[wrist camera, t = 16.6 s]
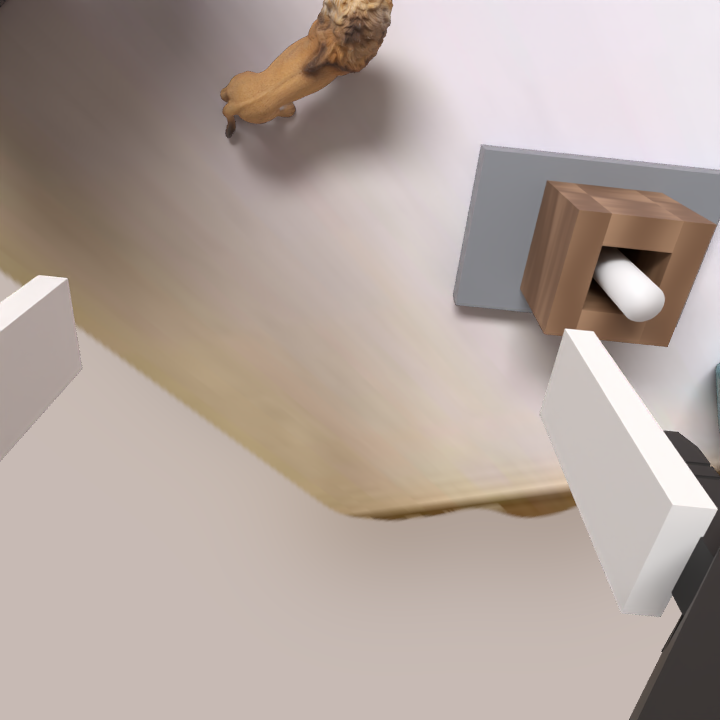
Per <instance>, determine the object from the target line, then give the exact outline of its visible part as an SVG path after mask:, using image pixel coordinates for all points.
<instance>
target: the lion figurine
mask: <svg viewBox="0 0 720 720" xmlns="http://www.w3.org/2000/svg"><path fill="white" fill-rule="evenodd" d="M392 7H393V4H392V0H324V1H323V8H322V10H321V12H320V13H319V15H318V19H317V20H316V21H315V22H314V23H313V24H312V26H311V28H310V30H309V34H308V36H306V37H304V38H302V39H300V40H298V41H297V42H295V43H293V44H292V45H291V46H289V47H288V48H287V49H286V50H285V51H284V52H283V53H282V54H281V55H280V56H278V57H277V58H276V59H275V60H274V61H273V62H272V64H271V65H270V66H269V67H268V68H267V69H266V70H265V71H263V72H261V73H254V72H251V71H246V72H244V73H240V74H238V75H236V76H234V77H233V78H232V79H231V81H230V83H229V84H228V85H227V87H226V88H223V89H222V91H221V98H222V99H223V100H224V101H226V102H228V103H227V104H226V105H225V107H224V108H223V111H222V113H223V115H224V116H225V117H226V118H227V120H228V125H227V128H226V132H225V134H226V137H227V138H230V137H231V136H232V134H233V133H234V131H235V128H236V125H235V122H236V121H235V119H234V116H233V115H238V116H239V117H240V118H241V119H243V120H245V121H247V122H250V123H255V124H261V123H266V122H268V121H271V120H272V119H274V118H275V117H277V116H281V117H290V116H292V115H293V114H294V112H295V106H294V104H293V101H296V100H298V99H300V98H303V97H305V96H307V95H310V94H312V93H315V92H317V91H319V90H320V89H322V88H324V87H325V86H327V85H328V84H329V83H331V82H332V81H333V80H334V79H335V78H336V77H337V76H341V75H346V74H348V73H355V72H359V71H360V70H361V69H363V68H364V67H366V66H367V65H368V63H369V61H370V60H371V59H373V57H375V56H376V54H377V51H378V49H379V47H380V46H381V44H382V43H383V38H384V37H385V36H386V33H387V28H388V27H389V26H390V23H391V20H390V19H391V16H390V14H391V10H392Z"/></svg>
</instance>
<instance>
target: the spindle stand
mask: <svg viewBox="0 0 720 720" xmlns="http://www.w3.org/2000/svg"><path fill="white" fill-rule="evenodd" d="M547 180H549V181H558V182H567V183H577V184H586V185H595V186H604V187H613V188H623V189H632V190H641V191H650V192H659V193H663V194H665V195H667V196H668V197H670V198H672V199H673V200H675V201H677V202H679V203H680V204H682V205H684V206H685V207H687V208H689V209H691V210H692V211H694V212H696V213H697V214H699V215H701V216H703V217H704V218H706V219H708V220H709V221H711V222H713V223H715V224H716V225H717V224H718V222H719V219H720V170H714V169H705V168H695V167H686V166H677V165H667V164H658V163H649V162H639V161H630V160H621V159H611V158H602V157H592V156H583V155H574V154H564V153H555V152H546V151H536V150H527V149H518V148H508V147H499V146H489V145H481V149H480V154H479V159H478V165H477V170H476V175H475V180H474V186H473V191H472V196H471V202H470V207H469V212H468V218H467V223H466V228H465V234H464V239H463V244H462V250H461V255H460V260H459V266H458V271H457V276H456V282H455V287H454V292H453V297H454V301H455V305H461V306H471V307H481V308H491V309H501V310H510V311H520V312H530V313H533V312H532V310H531V308H530V306H529V305H528V303H527V301H526V299H525V297H524V295H523V293H522V291H521V290H520V286H521V282H522V278H523V274H524V270H525V266H526V262H527V258H528V254H529V250H530V246H531V242H532V238H533V234H534V230H535V226H536V222H537V218H538V214H539V210H540V206H541V202H542V198H543V194H544V190H545V186H546V182H547ZM716 227H717V226H716ZM715 229H716V228H715ZM714 232H715V231H714ZM713 234H714V233H713ZM712 237H713V235H712ZM711 239H712V238H711ZM710 242H711V240H710ZM709 244H710V243H709ZM708 247H709V245H708ZM707 249H708V248H707ZM706 252H707V250H706ZM705 254H706V253H705ZM704 257H705V255H704ZM703 259H704V258H703ZM702 262H703V260H702ZM701 264H702V263H701ZM700 267H701V265H700ZM699 269H700V268H699ZM698 272H699V270H698ZM697 274H698V273H697ZM696 277H697V275H696ZM593 278H594V279H595V280H596V282H597V283H598V284H599V285H600V286H601V288H602V289H603V290H604V291H605V292H606V293H607V295H608V296H609V297H610V298H611V299H612V300H613V302H614V303H615V304H616V305H617V306H618V308H619V309H620V310H621V311H622V312H623V313H624V315H625V316H626V317H627V318H628V319H630V320H632V321H635V322H643V321H647V320H650V319H652V318H654V317H655V316H656V315H657V314H658V313H659V312H660V311H661V310H662V308H663V306H664V302H665V297H664V293H663V292H662V290H661V289H660V288H659V287H658V286H656V285H655V284H654V283H653V282H652V281H651V280H650V279H649V278H648V277H647V276H646V275H645V274H644V273H643V272H642V271H640V270H639V269H638V268H637V267H636V266H635V265H634V264H633V263H632V262H631V261H630V260H629V259H628V258H627V257H625V256H624V255H623V254H622V253H621V252H620V251H619V250H618V249H617V248H616V247H611V246H602V248H601V251H600V254H599V257H598V261H597V264H596V267H595V270H594V274H593ZM695 279H696V278H695ZM694 282H695V280H694ZM693 284H694V283H693ZM692 286H693V285H692ZM691 289H692V287H691ZM690 291H691V290H690ZM689 294H690V292H689ZM688 296H689V295H688ZM687 299H688V297H687ZM686 301H687V300H686ZM685 304H686V302H685ZM684 306H685V305H684ZM683 309H684V307H683ZM682 311H683V310H682ZM681 314H682V312H681ZM680 316H681V315H680ZM679 319H680V317H679ZM678 321H679V320H678ZM677 324H678V322H677ZM676 326H677V325H676Z"/></svg>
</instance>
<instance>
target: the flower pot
mask: <svg viewBox="0 0 720 720" xmlns="http://www.w3.org/2000/svg"><path fill="white" fill-rule="evenodd" d="M716 385H717V404H718V424H719V431H720V363H719V364H718V365H717V367H716Z"/></svg>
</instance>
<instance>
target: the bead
mask: <svg viewBox="0 0 720 720" xmlns="http://www.w3.org/2000/svg"><path fill="white" fill-rule="evenodd" d="M716 226H717V225H716V224H715V223H713V222H711V221H709V220H708V219H706V218H704V217H703V216H701V215H699V214H697V213H696V212H694V211H692V210H691V209H689V208H687V207H685V206H684V205H682V204H680V203H679V202H677V201H675V200H673V199H672V198H670V197H668V196H667V195H665V194H663V193H659V192H650V191H641V190H632V189H623V188H613V187H604V186H595V185H586V184H577V183H567V182H558V181H549V180H547V182H546V186H545V190H544V194H543V198H542V202H541V206H540V210H539V214H538V218H537V222H536V226H535V230H534V234H533V238H532V242H531V246H530V250H529V254H528V258H527V262H526V266H525V270H524V274H523V278H522V282H521V286H520V290H521V291H522V293H523V295H524V297H525V299H526V301H527V303H528V305H529V306H530V308H531V310H532V312H533V314H534V316H535V318H536V320H537V322H538V323H539V325H540V327H541V329H542V331H543V333H544V334H548V335H558V336H563V333H564V330H565V329H575V330H584V331H594V333H595V334H596V336H597V337H598V339H599V340H606V341H616V342H625V343H635V344H644V345H654V346H664V347H668V344H669V342H670V339H671V337H672V334H673V332H674V330H675V327H676V325H677V322H678V320H679V317H680V315H681V312H682V310H683V307H684V305H685V302H686V300H687V297H688V295H689V292H690V290H691V287H692V285H693V283H694V280H695V278H696V275H697V273H698V270H699V268H700V265H701V263H702V260H703V258H704V255H705V253H706V250H707V248H708V245H709V243H710V240H711V238H712V235H713V233H714V231H715V228H716ZM602 246H611V247H616V248H617V249H618V250H619V251H620V252H621V253H622V254H623V255H624V256H625V257H627V258H628V259H629V260H630V261H631V262H632V263H633V264H634V265H635V266H636V267H637V268H638V269H639V270H640V271H642V272H643V273H644V274H645V275H646V276H647V277H648V278H649V279H650V280H651V281H652V282H653V283H654V284H655V285H656V286H658V287H659V288H660V289H661V290H662V292H663V293H664V297H665V302H664V306H663V308H662V310H661V311H660V312H659V313H658V314H657V315H656V316H655V317H654V318H652V319H650V320H647V321H643V322H635V321H632V320H630V319H628V318H627V317H626V316H625V315H624V313H623V312H622V311H621V310H620V309H619V308H618V306H617V305H616V304H615V303H614V302H613V300H612V299H611V298H610V297H609V296H608V295H607V293H606V292H605V291H604V290H603V289H602V288H601V286H600V285H599V284H598V283H597V282H596V280H595V279H594V278H593V274H594V270H595V267H596V264H597V261H598V257H599V254H600V251H601V248H602Z"/></svg>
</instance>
